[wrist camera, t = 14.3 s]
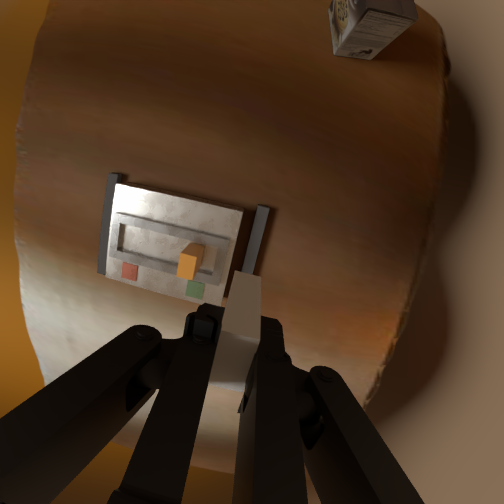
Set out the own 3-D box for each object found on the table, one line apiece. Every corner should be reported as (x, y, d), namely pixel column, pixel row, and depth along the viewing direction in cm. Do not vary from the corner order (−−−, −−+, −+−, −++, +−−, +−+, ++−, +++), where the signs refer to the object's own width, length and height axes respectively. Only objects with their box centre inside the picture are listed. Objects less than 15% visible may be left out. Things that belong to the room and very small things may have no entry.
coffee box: (326, 8, 33) (351, -50, 18) (365, 14, 33) (403, -37, 17) (332, 56, 36) (365, 6, 20) (372, 61, 35) (421, 19, 20)
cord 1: (113, 172, 41) (108, 172, 40) (122, 174, 41) (117, 174, 40) (101, 269, 45) (97, 272, 44) (110, 272, 45) (105, 275, 44)
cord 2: (258, 204, 42) (258, 205, 40) (269, 207, 42) (269, 208, 40) (232, 305, 46) (231, 310, 45) (242, 308, 46) (242, 312, 45)
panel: (128, 182, 41) (113, 184, 37) (244, 208, 42) (242, 213, 37) (116, 268, 45) (102, 279, 40) (223, 297, 46) (219, 312, 41)
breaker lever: (190, 242, 39) (180, 252, 34) (204, 246, 39) (196, 257, 34) (186, 263, 40) (176, 276, 35) (200, 267, 40) (192, 280, 35)
